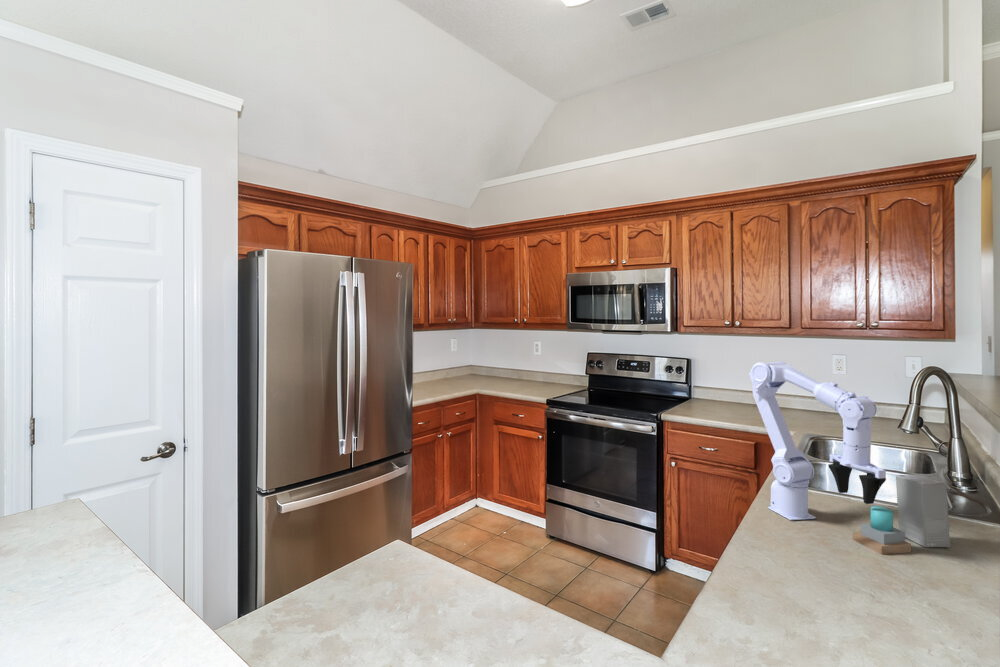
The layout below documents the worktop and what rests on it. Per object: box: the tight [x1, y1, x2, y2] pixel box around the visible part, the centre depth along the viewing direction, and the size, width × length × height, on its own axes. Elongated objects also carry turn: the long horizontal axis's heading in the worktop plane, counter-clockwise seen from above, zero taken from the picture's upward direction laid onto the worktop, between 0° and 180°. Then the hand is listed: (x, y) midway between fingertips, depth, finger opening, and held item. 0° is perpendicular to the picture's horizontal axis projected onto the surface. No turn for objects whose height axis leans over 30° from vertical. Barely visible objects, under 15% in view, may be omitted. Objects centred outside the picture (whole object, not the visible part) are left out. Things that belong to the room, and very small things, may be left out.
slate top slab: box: [860, 522, 906, 545], centre depth 121 cm, size 6×6×2 cm
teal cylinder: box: [870, 505, 894, 532], centre depth 121 cm, size 4×4×4 cm
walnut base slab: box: [852, 531, 912, 555], centre depth 121 cm, size 8×8×2 cm
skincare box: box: [895, 474, 951, 548], centre depth 124 cm, size 8×7×16 cm
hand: (855, 497), depth 126 cm, fingers open, 7 cm apart
